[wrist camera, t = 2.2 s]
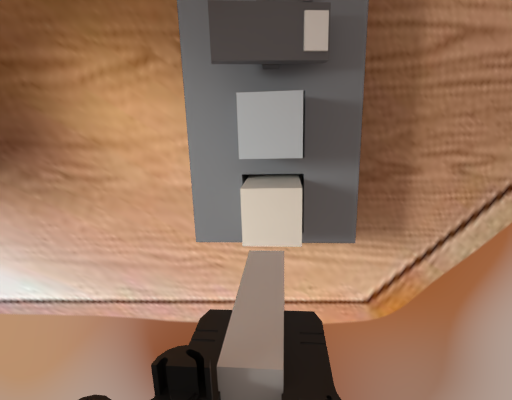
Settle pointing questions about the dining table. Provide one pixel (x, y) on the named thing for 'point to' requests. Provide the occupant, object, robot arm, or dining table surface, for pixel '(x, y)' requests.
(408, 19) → the dining table surface
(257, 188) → the button cream
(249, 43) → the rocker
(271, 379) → the robot arm
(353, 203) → the console
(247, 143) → the button grey
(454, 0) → the dining table surface
